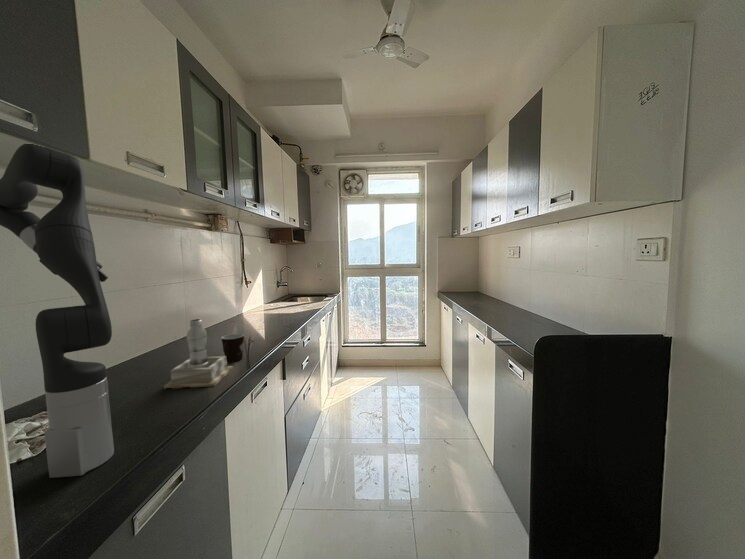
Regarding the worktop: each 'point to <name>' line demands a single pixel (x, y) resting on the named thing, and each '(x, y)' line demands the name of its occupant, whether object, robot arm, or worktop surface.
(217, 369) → the plate
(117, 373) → the worktop surface
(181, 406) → the worktop surface
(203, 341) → the plastic bottle
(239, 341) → the coffee mug
